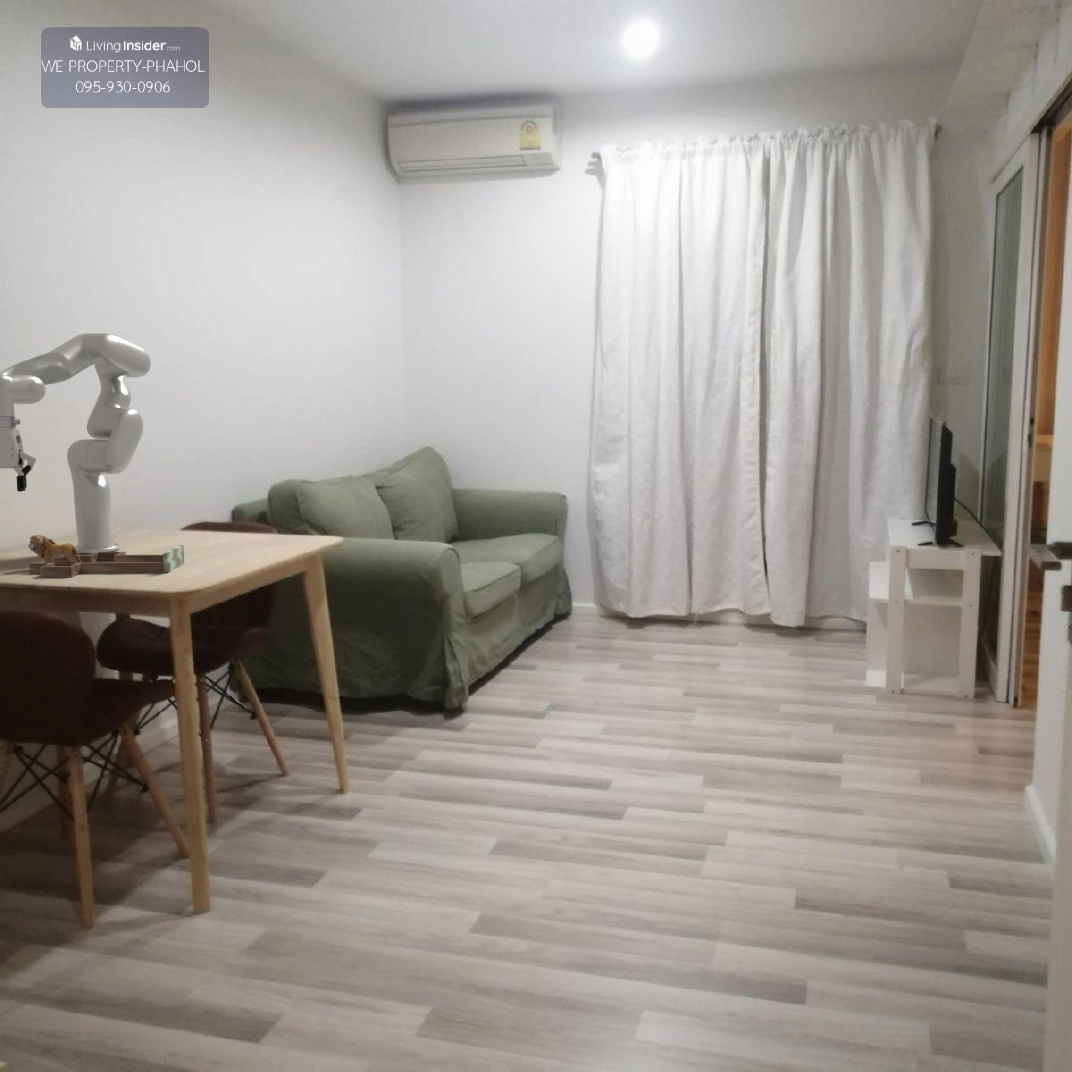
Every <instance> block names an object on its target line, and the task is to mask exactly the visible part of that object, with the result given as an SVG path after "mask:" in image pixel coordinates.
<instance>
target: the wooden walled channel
mask: <svg viewBox="0 0 1072 1072" xmlns="http://www.w3.org/2000/svg"><path fill="white" fill-rule="evenodd" d="M79 557H80V559H81V561H82V563H80V562H79V560H78V558H77V556H76V555H75V560H76V561H77V564H74V565H73V563H71V562H70V561H69V560H68V559H67V558H66V556H65V557H62V558H54V560H53V563H46V562H30V563H29V573H30V574H40V578H60V577H61V578H73V577H76V576H78V575H80V574H102V573H103V574H110V573H111V574H112V573H113V574H116V573H117V574H118V573H119V574H129V573H130V574H131V573H133V574H134V572H155V573H164V572H169V571H170V570H172V571H173V569H174V570H175V568H176V567H177V568H179V567H181V566H182V565H181V564H183V563H184V564H185V547H184V544H178V545H177V546H174V547H173V548H171V549H169V550H167V551H165V552H163V553H162V554H127V551H110V552H95V553H89V554H79ZM184 564H183V565H184ZM71 565H72V566H71ZM180 565H181V566H180ZM178 566H179V567H178ZM177 568H176V569H177ZM170 572H171V571H170ZM170 572H169V573H170Z"/></svg>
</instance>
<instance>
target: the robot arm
mask: <svg viewBox="0 0 1072 1072" xmlns="http://www.w3.org/2000/svg"><path fill="white" fill-rule="evenodd" d="M151 364H152V363H151V358H150V356H149V353H147V352H146V350H145V349H143V348H142V347H141V346H139V345H136V344H135V343H132V342H130V341H128V340H125V339H124V338H122V337H119V336H117V335H115V334H112V333H106V332H102V333H101V332H100V333H95V332H94V333H91V332H89V333H81V334H77V335H76V336H74V337H72V338H71V339H69V340H67V341H66V342H64V343H63V344H60V345H58V346H57V347H55V348H53V349H52V350H51V351H49V352H45V353H44V354H43V353H42V354H40V355H37V356H35V357H32V358H29V359H25V360H24V361H20V362H18V363H16V364H13V365H11V366H9V367H7V368H5V369H4V370H2V371H0V469H13V471H15V472H16V474H17V475H16V490H17V492H25V491H26V489H27V487H28V486H27V485H28V484H27V476H28V475H29V473H30V472H31V470H32V469H34V468H33V467H34V466H35V463H36V461H37V459H36V457H34V456H32V455H29V454H28V453H26V452H24V445H23V441H22V440H23V439H22V435H21V433H20V429H18V428H16V427H17V425H18V426H19V425H20V424H21V419H17V418H16V416H15V404H16V405H17V404H18V405H19V404H20V405H21V404H22V405H32V404H36V403H39V402H40V401H42V400H43V398H45V395H46V386H47V385H53V384H59V383H62V382H66V381H69V380H70V379H72V378H73V377H75V376H76V375H78V374H80V373H82V372H83V371H84V370H86V369H87V368H89V367H90V366H92V365H93V366H94V369H95V371H96V374H97V376H98V380H99V383H100V384H99V385H100V391H99V395H98V397H97V400H96V402H95V404H94V407H93V409H92V410H91V412H90V415H89V416H88V419H87V424H86V430H87V433H88V435H89V436H90V437H91V438H92V439H90V438H88V439H87V438H86V439H79V440H76V441H74V442H73V443H71V444H70V445H69V447H68V449H67V452H66V458H67V459H66V460H67V465H68V468H69V471H70V475H71V478H72V479H71V480H72V486H73V500H74V501H73V502H74V512H75V513H74V515H75V528H76V540H77V541H76V542H77V545H74V546H75V547H76V549H77V551H78V554H92V553H95V552H116V551H117V550H120V549H121V548H120V546H121V545H120V544H119V543H116V542H114V539H115V538H116V533H115V532H114V531H113V530H114V529H113V516H112V515H113V514H112V502H111V498H112V497H111V487H110V484H109V482H108V479H107V477H106V476H105V475H117V474H121V473H123V472H124V471H126V470H127V468H128V467H129V466H130V464H131V461H132V459H133V457H134V455H135V452H136V450H137V448H138V445H139V443H140V441H141V439H142V436H143V433H144V421H143V417H142V415H141V414H140V413H139V411H137V410H136V409H134V408H131V407H130V405H131V401H132V395H131V391H130V389H129V386H128V384H127V382H126V379H125V378H141V377H144V376H146V375H147V374H148V373H149V371H150V369H151V367H152V366H151ZM45 385H46V386H45ZM25 461H27V463H26V462H25ZM25 463H26V465H25ZM24 465H25V466H24Z"/></svg>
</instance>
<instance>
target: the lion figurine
mask: <svg viewBox="0 0 1072 1072" xmlns="http://www.w3.org/2000/svg"><path fill="white" fill-rule="evenodd" d="M75 546H76V545H75V544H72V543H69V542H67V543H63V544H58V543H56V542H55V541H54V540H53V539H52V538H48V537H46V536H44V535H41V534H34V535H31V536H30V537H29V543H28V548H29V549H30V551H31V552H33V553H34V554H36V555H38V558H42V559H44V563H53V560H54V558H62V557H65V556H66V558H67V559H68V560H69V561H70V562H71V563H73V565H74V564H77V561H76V560H75V555H76V556H77V558H78V560H79V562H80V563H82V561H81V559H80V557H79V555H80V553H78V551H77V549H76V547H75ZM70 566H72V565H70Z"/></svg>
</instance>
